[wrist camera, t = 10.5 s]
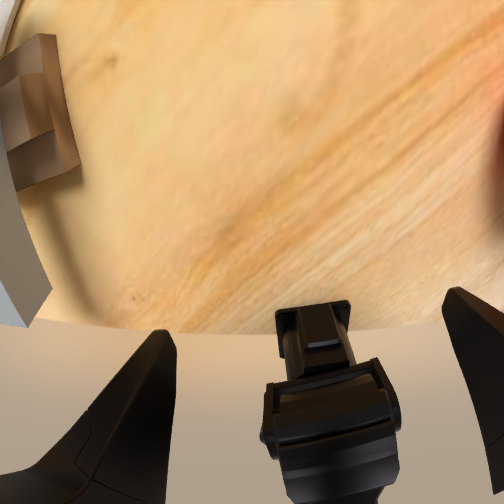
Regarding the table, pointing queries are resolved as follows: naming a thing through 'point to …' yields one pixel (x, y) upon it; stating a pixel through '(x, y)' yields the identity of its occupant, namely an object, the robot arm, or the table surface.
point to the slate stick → (17, 257)
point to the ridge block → (35, 113)
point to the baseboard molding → (7, 20)
